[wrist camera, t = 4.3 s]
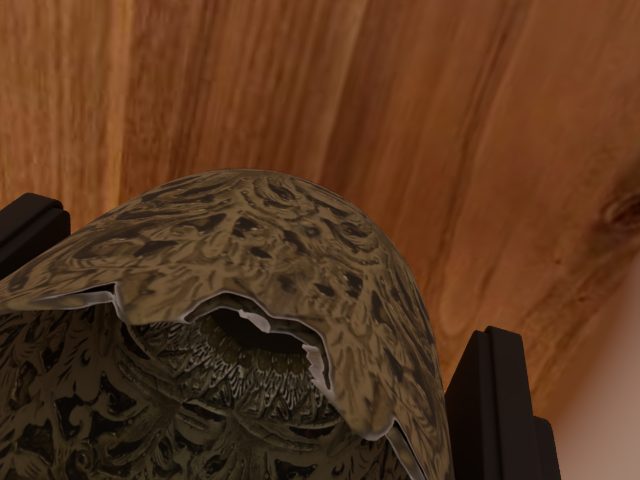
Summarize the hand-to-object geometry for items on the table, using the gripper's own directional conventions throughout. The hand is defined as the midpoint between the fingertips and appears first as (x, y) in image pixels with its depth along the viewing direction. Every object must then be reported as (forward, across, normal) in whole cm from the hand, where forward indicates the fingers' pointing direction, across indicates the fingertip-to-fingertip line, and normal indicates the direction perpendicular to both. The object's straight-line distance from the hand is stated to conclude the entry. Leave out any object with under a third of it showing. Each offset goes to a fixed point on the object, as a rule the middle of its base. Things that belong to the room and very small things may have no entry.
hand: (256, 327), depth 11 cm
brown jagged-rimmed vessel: (+4, 0, 0) cm, 4 cm away
